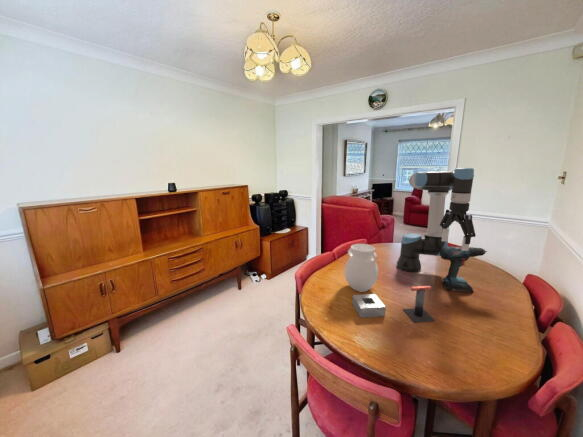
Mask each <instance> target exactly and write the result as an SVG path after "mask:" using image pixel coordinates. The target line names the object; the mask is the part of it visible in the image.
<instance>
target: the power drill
mask: <svg viewBox="0 0 583 437" xmlns="http://www.w3.org/2000/svg"><path fill="white" fill-rule="evenodd" d="M461 249H462V245H461V246H452V245H448V246H447V247H442V248H441V249H440V256H439V257H440V258H441V259H442V260H445V261H450V264H449V268H448V272H447V275H446V276H444V277H443V278H442V280H443V281H442V282H441V284H442V286H443V287H444V288H445V289H446V290H447V291H449V292H450V291H451V292H463V293H473V292H474V289H473V287H472V286H471V284H470V283H469V282H468V281H467V280H466V279H465V278H464V277H462V276H461V275H460V276H458V274H459V270H460V268H461V267H462V266H463V267H464V266H466V264H465V262H466V261H468V260H469V258H476V257H480V256H481V257H482V256H484V255H485V254H487V252H488V251H487V250H486V249H484V248H482V247H472V246H471V247H470V246H469V249H468V251H462V250H461Z"/></svg>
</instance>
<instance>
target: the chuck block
mask: <svg viewBox="0 0 583 437" xmlns="http://www.w3.org/2000/svg"><path fill="white" fill-rule="evenodd" d="M352 306H353V307H354V309H355V311H356V313H357V315H358V317H359V318H360V319H365V318H377V317H378V318H379V317H386V310H387V309H386V305H385V304H384V303H383V301H382V300H381V298H379V297H378V295H377V294H376V293H366V294H364V293H363V294H353V295H352Z"/></svg>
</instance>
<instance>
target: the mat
mask: <svg viewBox="0 0 583 437" xmlns="http://www.w3.org/2000/svg"><path fill="white" fill-rule="evenodd" d="M402 311H403V312H404V313H405V314H406V315H407V316H408V318H409V319H410V320H411V321H412V322H413V323H414V324H415V323H427V322H428V323H429V322H436V319H435V318H434V317H433V316H432V315H431V314H430V313H429V312H427V310H425V309H424V308H423V316H422V317H418V316H416V315H415V314H414V311H415V307H414V308H412V307H411V308H402Z"/></svg>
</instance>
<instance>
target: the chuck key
mask: <svg viewBox="0 0 583 437" xmlns="http://www.w3.org/2000/svg"><path fill="white" fill-rule="evenodd" d="M410 290H411V292H415V302H414V303H415V304H414V308H415V311H414V314H415V315H416V316H418V317H422V316H423V309H424V306H425V296H426V291H432V286H430V285H420V286H417V285H416V286H411V287H410Z"/></svg>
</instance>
